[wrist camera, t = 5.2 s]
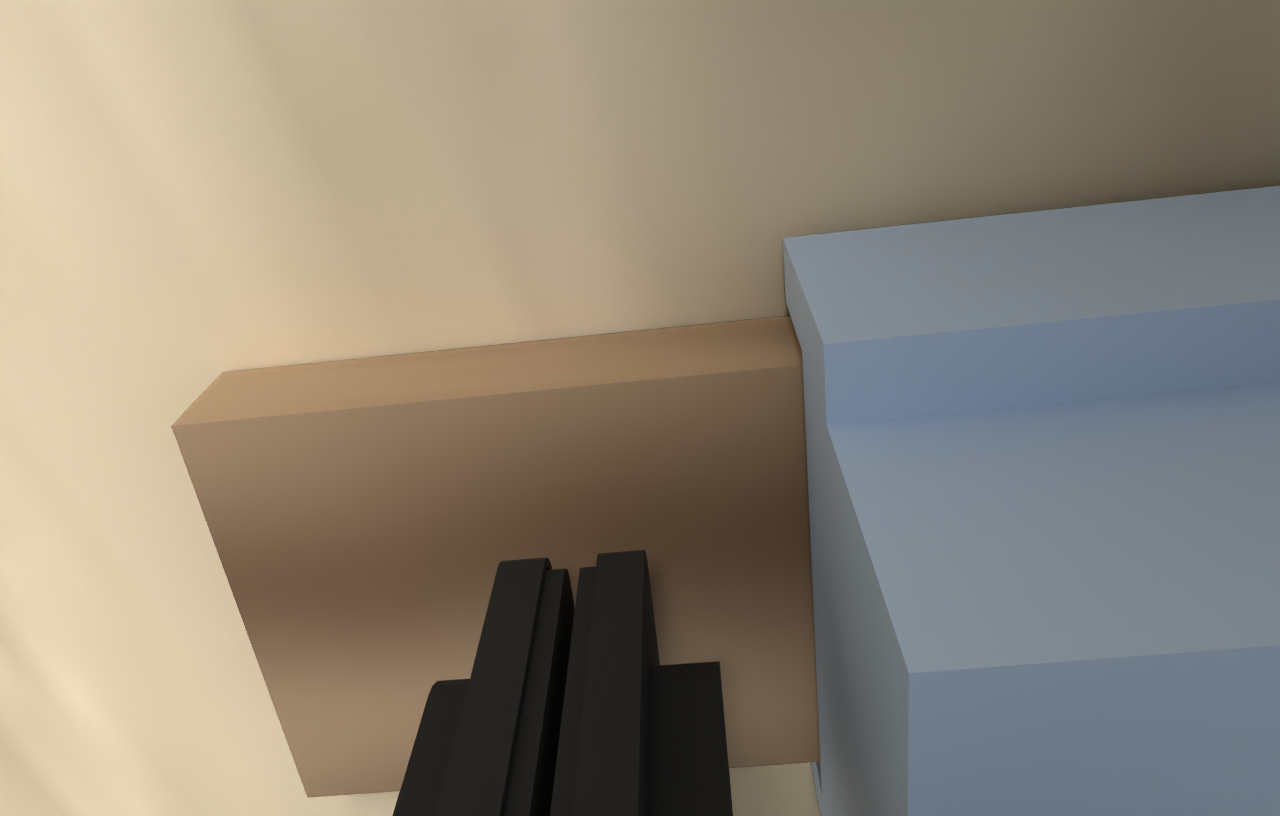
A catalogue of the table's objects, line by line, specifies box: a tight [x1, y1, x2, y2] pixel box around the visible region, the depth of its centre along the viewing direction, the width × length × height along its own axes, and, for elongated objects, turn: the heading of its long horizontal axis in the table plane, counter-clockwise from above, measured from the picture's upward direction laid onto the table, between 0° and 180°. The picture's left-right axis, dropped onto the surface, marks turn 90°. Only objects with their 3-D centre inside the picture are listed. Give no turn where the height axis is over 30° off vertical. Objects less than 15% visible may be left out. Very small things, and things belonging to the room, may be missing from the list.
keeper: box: [783, 186, 1280, 816], centre depth 10 cm, size 8×7×6 cm
